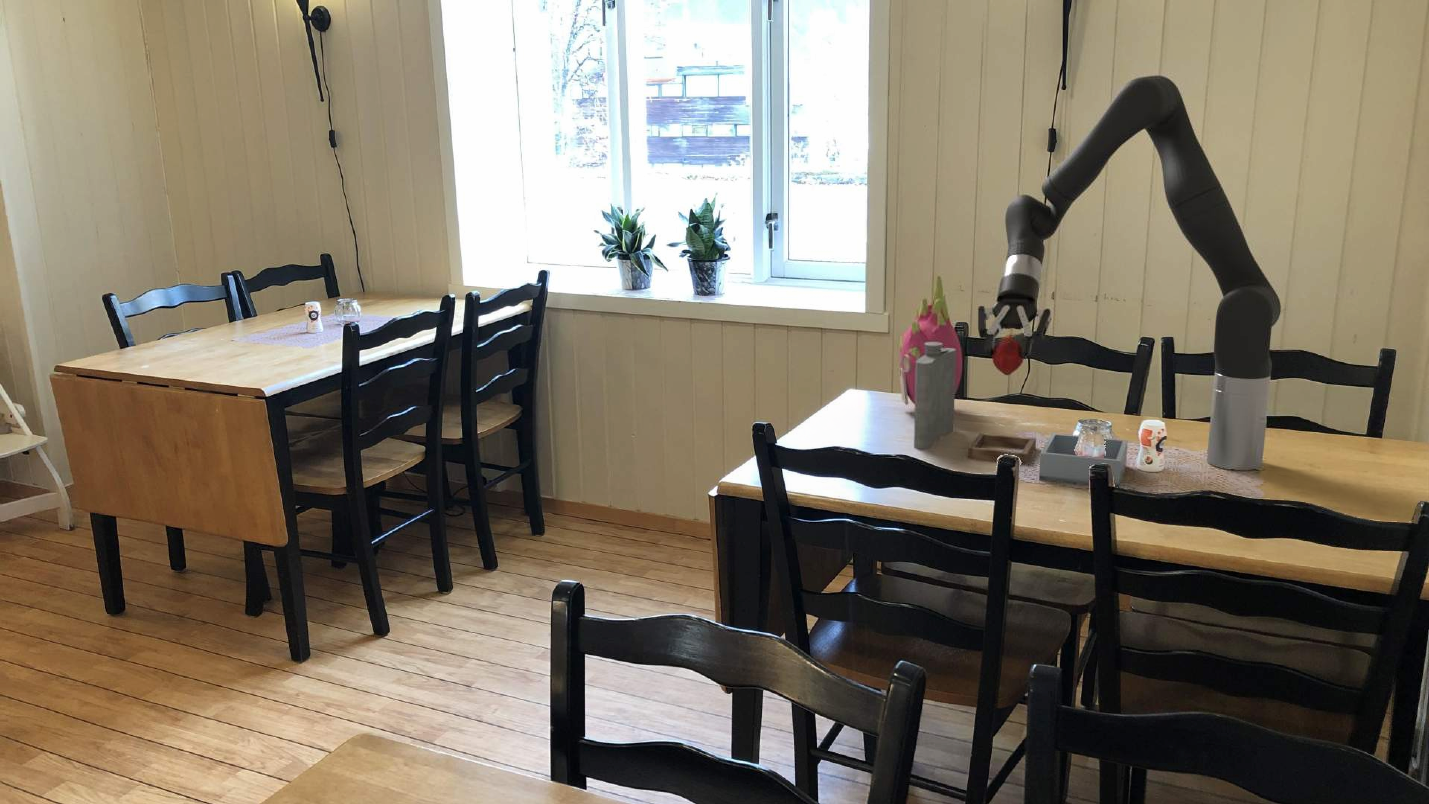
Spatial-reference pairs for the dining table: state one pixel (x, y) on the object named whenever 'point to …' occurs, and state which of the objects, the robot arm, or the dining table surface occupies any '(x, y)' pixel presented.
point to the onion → (1007, 355)
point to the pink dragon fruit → (927, 340)
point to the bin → (1078, 460)
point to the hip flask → (934, 394)
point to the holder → (1001, 440)
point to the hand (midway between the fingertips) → (1006, 355)
